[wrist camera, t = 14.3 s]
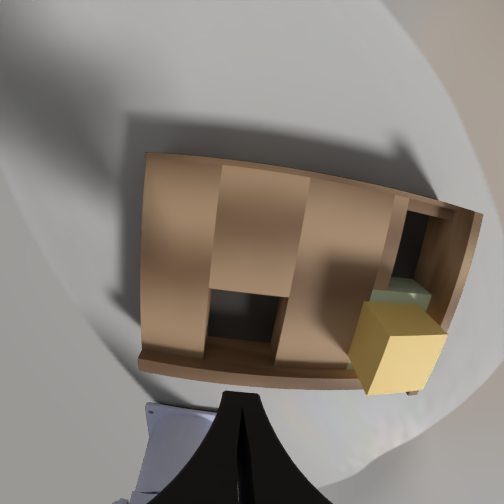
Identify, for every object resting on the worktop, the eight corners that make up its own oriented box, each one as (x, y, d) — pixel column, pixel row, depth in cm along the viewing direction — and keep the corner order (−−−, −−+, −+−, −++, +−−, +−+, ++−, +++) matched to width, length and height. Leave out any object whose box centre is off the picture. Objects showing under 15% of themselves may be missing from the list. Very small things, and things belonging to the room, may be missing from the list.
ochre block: (398, 354, 19) (422, 389, 15) (347, 355, 18) (366, 395, 15) (416, 303, 17) (448, 334, 14) (363, 301, 17) (389, 336, 13)
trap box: (391, 356, 22) (416, 394, 17) (153, 337, 21) (134, 380, 16) (439, 200, 18) (483, 214, 14) (162, 152, 17) (133, 151, 13)
